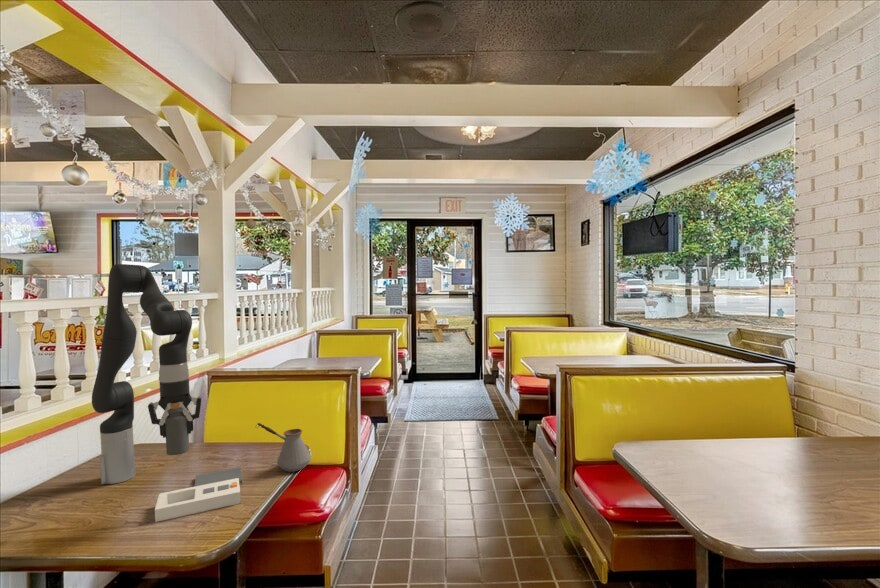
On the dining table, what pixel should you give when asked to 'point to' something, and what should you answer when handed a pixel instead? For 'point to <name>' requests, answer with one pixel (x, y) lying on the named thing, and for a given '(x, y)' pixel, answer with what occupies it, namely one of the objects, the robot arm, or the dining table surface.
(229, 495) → the power strip
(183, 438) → the bottle
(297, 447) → the coffee pot
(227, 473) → the mat
